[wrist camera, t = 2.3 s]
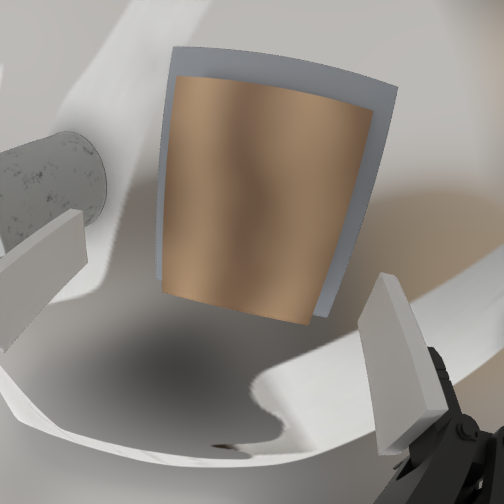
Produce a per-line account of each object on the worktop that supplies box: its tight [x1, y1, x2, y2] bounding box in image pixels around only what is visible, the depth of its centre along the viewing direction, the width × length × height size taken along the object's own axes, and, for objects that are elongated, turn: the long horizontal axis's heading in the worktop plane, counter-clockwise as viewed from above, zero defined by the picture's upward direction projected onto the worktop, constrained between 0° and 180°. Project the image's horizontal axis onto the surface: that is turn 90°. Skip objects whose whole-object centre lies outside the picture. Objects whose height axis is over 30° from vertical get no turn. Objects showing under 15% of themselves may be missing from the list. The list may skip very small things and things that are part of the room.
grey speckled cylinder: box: [0, 132, 107, 257], centre depth 19 cm, size 10×10×12 cm
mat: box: [156, 47, 398, 317], centre depth 22 cm, size 16×20×1 cm
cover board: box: [162, 76, 373, 325], centre depth 20 cm, size 11×15×4 cm
